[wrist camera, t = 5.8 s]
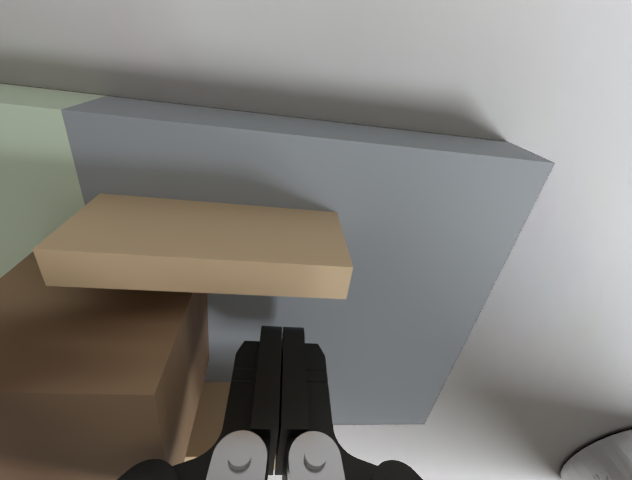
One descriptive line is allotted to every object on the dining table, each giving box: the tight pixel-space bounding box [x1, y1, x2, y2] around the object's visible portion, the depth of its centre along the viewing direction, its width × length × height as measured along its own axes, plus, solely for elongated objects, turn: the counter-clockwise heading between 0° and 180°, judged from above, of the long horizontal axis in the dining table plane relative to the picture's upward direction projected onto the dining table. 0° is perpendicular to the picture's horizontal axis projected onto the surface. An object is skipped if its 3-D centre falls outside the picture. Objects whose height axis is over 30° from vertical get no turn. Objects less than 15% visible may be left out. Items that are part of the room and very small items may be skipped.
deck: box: [0, 84, 555, 469], centre depth 12 cm, size 25×14×6 cm, turn 83°
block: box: [0, 252, 209, 480], centre depth 10 cm, size 5×5×5 cm
